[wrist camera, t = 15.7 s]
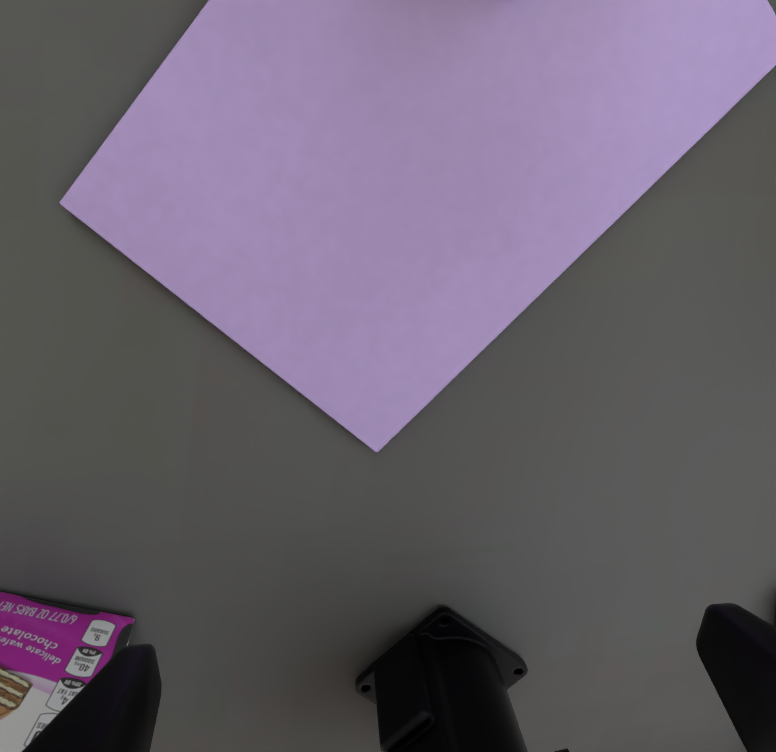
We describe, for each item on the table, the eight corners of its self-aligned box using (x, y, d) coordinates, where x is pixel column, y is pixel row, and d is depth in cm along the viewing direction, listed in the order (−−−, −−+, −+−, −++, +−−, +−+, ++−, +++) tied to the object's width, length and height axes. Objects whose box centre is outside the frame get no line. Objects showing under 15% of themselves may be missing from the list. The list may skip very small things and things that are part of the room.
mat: (780, 50, 18) (794, 47, 17) (375, 446, 22) (376, 453, 21) (516, -405, 13) (525, -430, 13) (66, 202, 17) (58, 203, 17)
